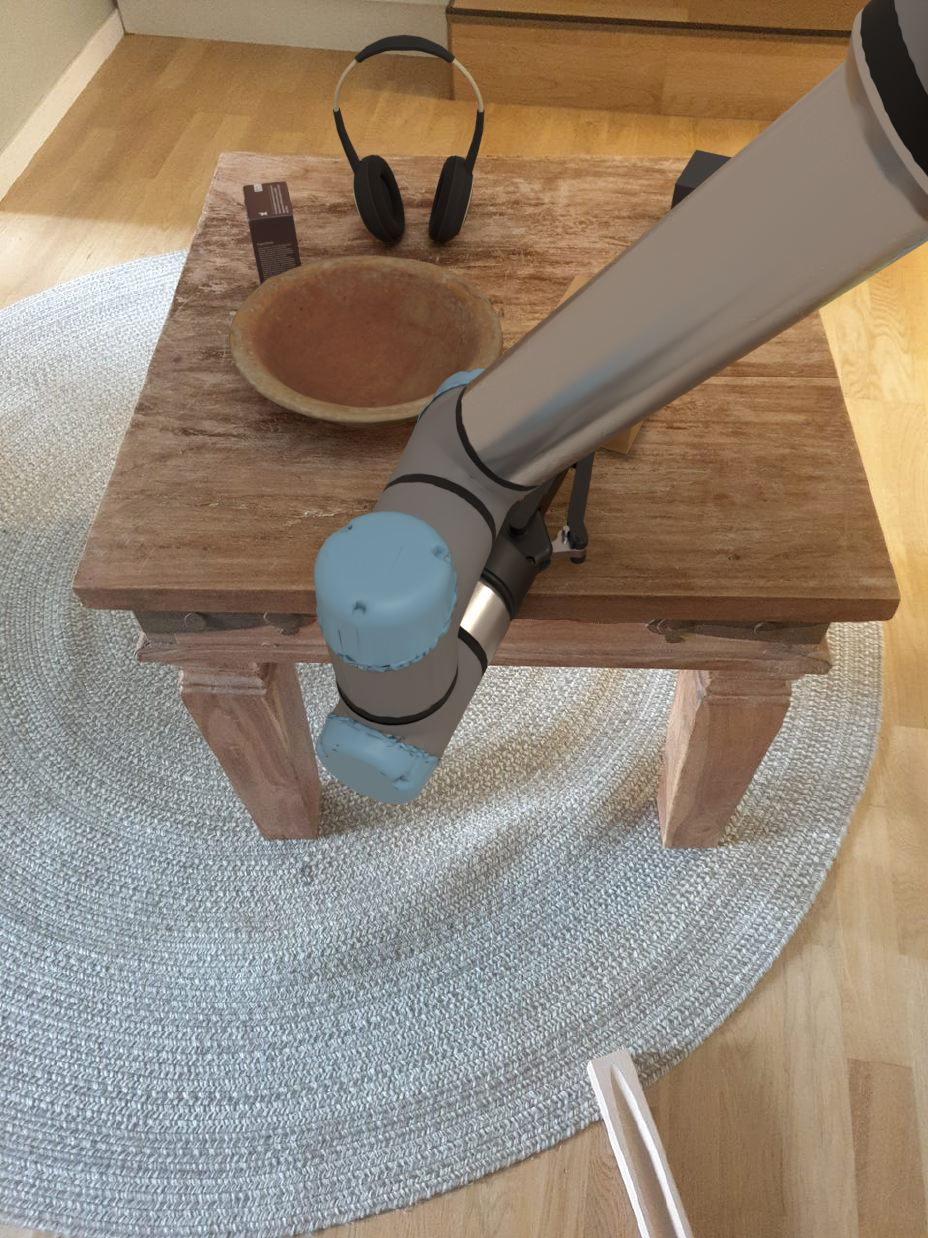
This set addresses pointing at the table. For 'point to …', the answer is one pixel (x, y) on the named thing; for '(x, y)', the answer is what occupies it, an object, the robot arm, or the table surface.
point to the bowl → (362, 338)
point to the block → (696, 173)
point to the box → (271, 228)
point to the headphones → (377, 180)
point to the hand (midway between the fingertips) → (583, 389)
